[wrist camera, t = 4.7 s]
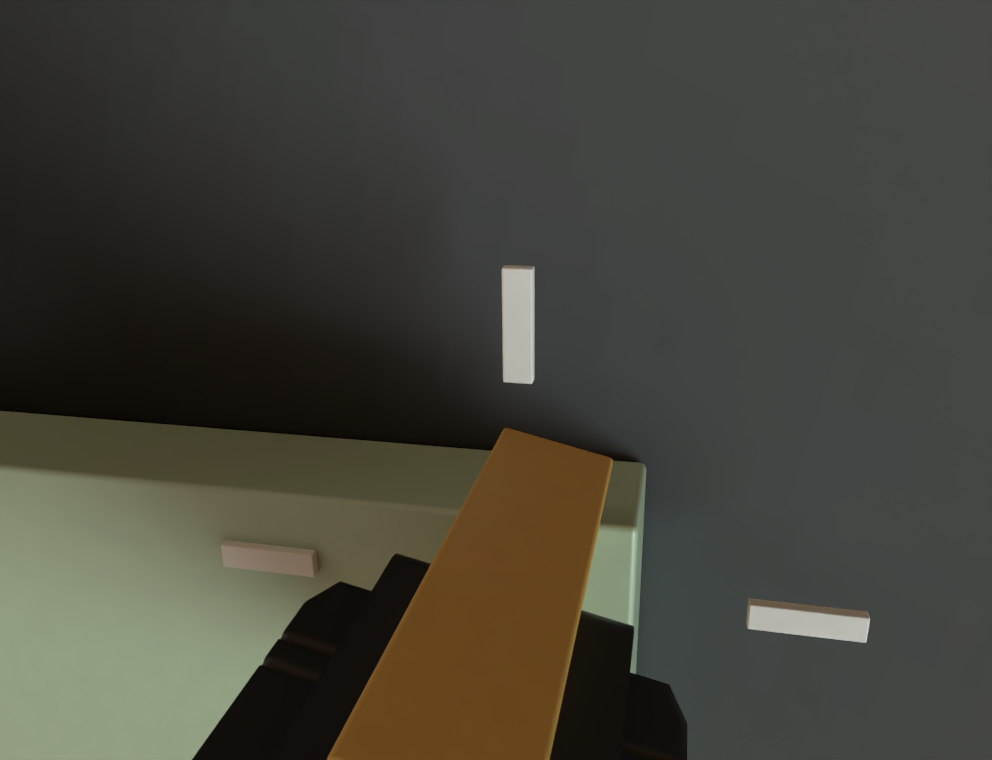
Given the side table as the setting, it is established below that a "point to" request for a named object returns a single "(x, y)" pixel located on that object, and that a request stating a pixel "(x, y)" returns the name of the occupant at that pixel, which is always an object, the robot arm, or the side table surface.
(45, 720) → the plate
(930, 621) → the side table surface
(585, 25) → the side table surface
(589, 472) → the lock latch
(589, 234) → the side table surface
